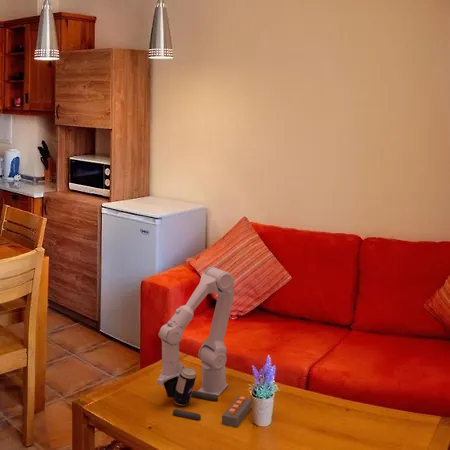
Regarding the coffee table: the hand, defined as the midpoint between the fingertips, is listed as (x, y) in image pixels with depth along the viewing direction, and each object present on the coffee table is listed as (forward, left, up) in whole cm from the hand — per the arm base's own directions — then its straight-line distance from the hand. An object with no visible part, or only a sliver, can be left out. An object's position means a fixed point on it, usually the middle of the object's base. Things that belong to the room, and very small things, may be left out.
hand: (171, 396), depth 210 cm
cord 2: (-7, +9, -2) cm, 12 cm away
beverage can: (0, +3, -1) cm, 4 cm away
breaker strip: (0, +24, -2) cm, 24 cm away
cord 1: (+7, +9, -2) cm, 12 cm away
